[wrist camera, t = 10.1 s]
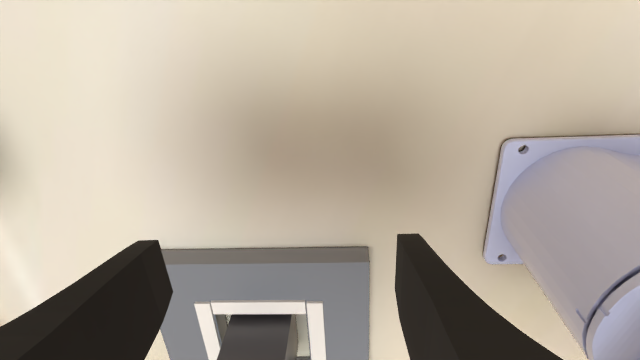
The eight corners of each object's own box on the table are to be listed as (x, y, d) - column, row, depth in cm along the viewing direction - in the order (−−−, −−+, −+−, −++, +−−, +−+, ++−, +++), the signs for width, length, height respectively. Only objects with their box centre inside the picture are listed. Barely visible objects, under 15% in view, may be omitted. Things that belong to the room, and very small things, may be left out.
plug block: (293, 299, 26) (282, 376, 21) (298, 341, 28) (288, 421, 23) (236, 300, 26) (211, 376, 21) (244, 341, 28) (223, 420, 23)
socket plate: (367, 246, 24) (369, 264, 22) (366, 392, 30) (368, 413, 28) (150, 250, 25) (137, 266, 23) (193, 390, 31) (185, 411, 29)
